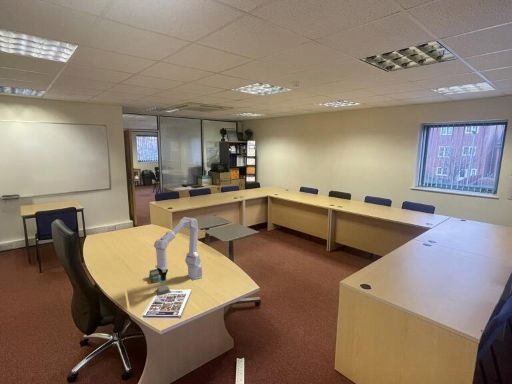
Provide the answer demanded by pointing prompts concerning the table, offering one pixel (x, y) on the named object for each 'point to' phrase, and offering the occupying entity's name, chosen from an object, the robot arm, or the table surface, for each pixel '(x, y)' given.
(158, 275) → the teal block
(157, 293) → the tower base
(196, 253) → the robot arm
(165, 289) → the tower mid
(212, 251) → the table surface
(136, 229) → the table surface
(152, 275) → the stone block
